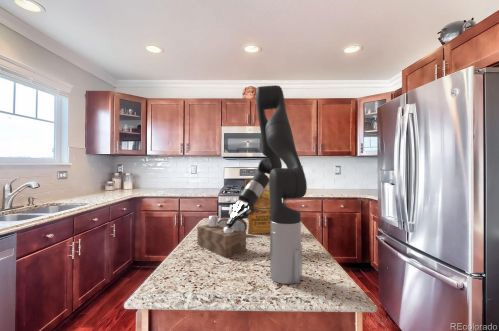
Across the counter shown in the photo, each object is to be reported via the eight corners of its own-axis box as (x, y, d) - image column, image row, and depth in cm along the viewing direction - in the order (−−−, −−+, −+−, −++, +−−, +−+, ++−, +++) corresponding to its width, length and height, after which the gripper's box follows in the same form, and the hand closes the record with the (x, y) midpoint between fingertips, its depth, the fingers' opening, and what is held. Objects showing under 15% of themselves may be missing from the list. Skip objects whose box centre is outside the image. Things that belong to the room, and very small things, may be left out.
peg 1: (219, 234, 109) (219, 216, 109) (211, 236, 106) (212, 217, 106) (214, 233, 112) (214, 215, 112) (206, 234, 109) (207, 216, 109)
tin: (247, 234, 126) (247, 217, 127) (246, 236, 123) (246, 219, 123) (217, 233, 128) (217, 217, 128) (216, 235, 125) (216, 218, 125)
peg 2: (235, 247, 100) (235, 227, 100) (227, 249, 98) (227, 229, 98) (229, 245, 103) (229, 225, 103) (221, 247, 101) (221, 227, 101)
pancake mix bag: (243, 231, 132) (243, 178, 132) (277, 229, 136) (277, 178, 136) (245, 235, 125) (245, 178, 126) (281, 232, 130) (281, 178, 130)
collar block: (245, 252, 100) (246, 231, 100) (225, 257, 93) (225, 236, 93) (216, 240, 116) (216, 223, 116) (197, 244, 109) (197, 226, 109)
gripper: (237, 186, 112) (213, 217, 104) (257, 188, 102) (232, 223, 94) (246, 197, 115) (224, 228, 107) (266, 200, 105) (243, 234, 97)
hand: (228, 226), depth 101 cm, fingers closed
